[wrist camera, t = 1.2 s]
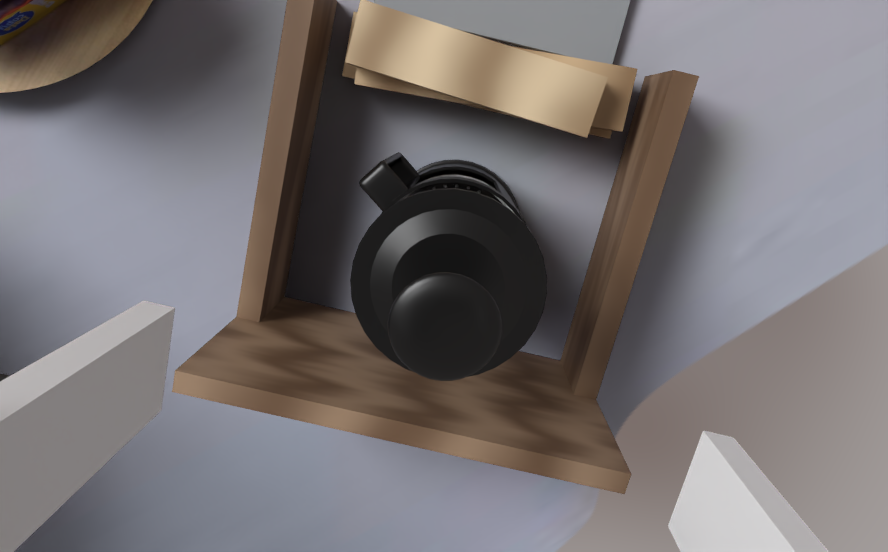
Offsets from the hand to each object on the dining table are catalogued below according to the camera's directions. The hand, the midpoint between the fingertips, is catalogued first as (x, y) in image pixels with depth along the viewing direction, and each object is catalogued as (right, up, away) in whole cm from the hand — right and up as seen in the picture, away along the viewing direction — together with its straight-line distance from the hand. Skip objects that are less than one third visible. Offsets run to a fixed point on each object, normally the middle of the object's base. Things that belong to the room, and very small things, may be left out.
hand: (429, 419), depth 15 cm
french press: (+1, +7, +30) cm, 31 cm away
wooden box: (+1, +9, +29) cm, 31 cm away
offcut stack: (+3, +17, +28) cm, 33 cm away
